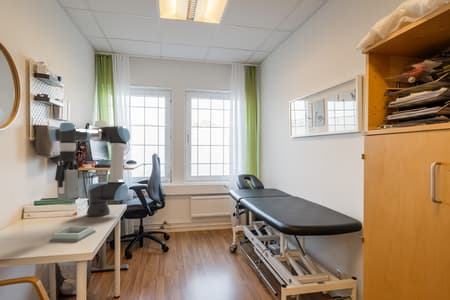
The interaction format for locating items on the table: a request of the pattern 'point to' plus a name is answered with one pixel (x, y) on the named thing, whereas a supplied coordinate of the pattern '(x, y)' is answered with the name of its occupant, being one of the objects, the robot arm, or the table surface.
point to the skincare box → (69, 185)
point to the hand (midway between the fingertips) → (67, 192)
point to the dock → (72, 234)
